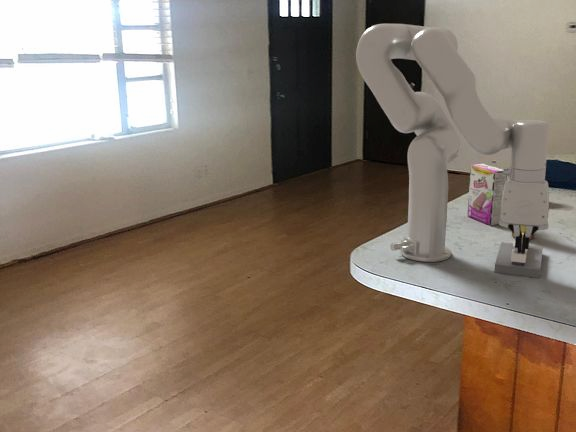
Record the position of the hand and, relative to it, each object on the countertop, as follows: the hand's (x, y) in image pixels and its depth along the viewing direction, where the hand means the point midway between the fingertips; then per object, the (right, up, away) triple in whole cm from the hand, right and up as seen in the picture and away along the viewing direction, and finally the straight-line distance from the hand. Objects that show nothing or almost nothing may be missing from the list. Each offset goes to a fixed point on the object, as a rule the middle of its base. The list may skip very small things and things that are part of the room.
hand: (521, 251), depth 144 cm
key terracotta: (+1, -2, +5) cm, 5 cm away
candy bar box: (+5, +7, +41) cm, 42 cm away
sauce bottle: (+10, +2, +26) cm, 28 cm away
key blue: (0, -4, +1) cm, 4 cm away
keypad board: (+2, -3, +7) cm, 8 cm away
